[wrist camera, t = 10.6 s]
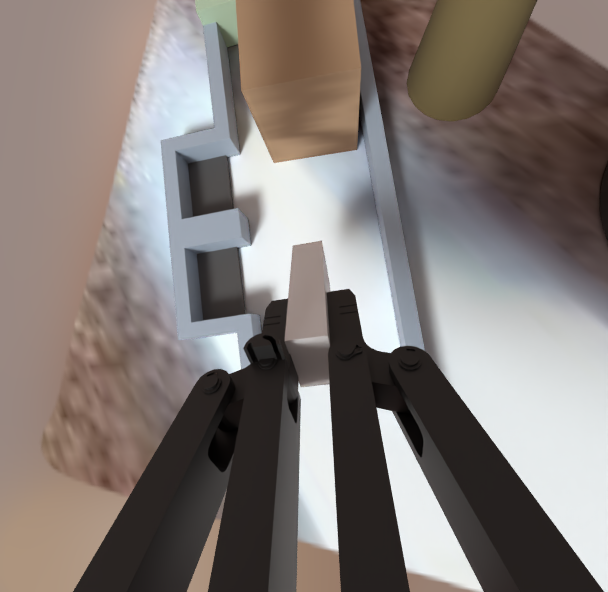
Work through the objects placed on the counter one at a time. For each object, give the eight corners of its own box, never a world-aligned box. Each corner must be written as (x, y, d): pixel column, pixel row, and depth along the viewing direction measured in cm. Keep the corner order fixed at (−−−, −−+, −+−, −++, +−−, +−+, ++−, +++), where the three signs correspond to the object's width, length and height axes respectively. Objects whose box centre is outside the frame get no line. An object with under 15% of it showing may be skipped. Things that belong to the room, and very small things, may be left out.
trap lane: (352, -6, 23) (353, -56, 20) (429, 419, 19) (445, 435, 16) (166, 46, 25) (141, 8, 22) (203, 441, 21) (179, 460, 18)
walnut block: (343, 24, 23) (341, -108, 16) (356, 150, 22) (361, 67, 15) (265, 41, 24) (230, -78, 17) (274, 163, 22) (241, 90, 15)
